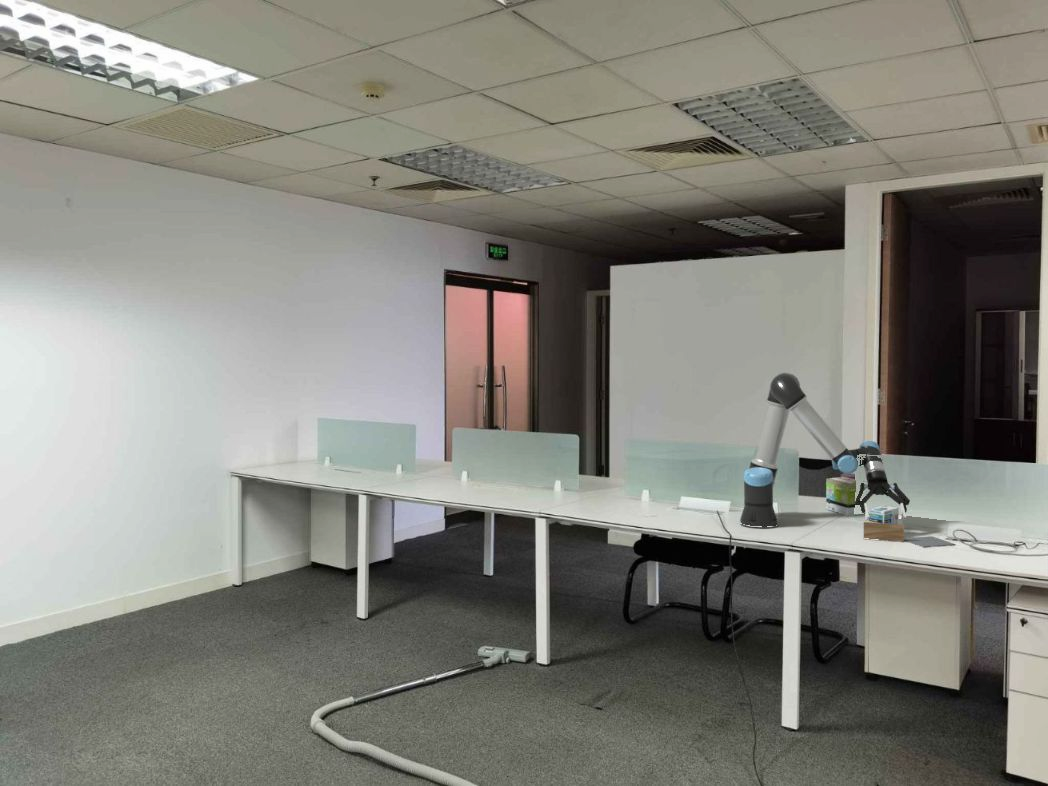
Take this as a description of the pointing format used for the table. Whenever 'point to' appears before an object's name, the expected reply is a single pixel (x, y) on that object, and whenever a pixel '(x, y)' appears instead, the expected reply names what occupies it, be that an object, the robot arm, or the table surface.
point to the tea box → (841, 495)
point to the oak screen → (884, 531)
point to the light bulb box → (884, 515)
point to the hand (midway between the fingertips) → (886, 519)
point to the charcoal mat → (928, 541)
